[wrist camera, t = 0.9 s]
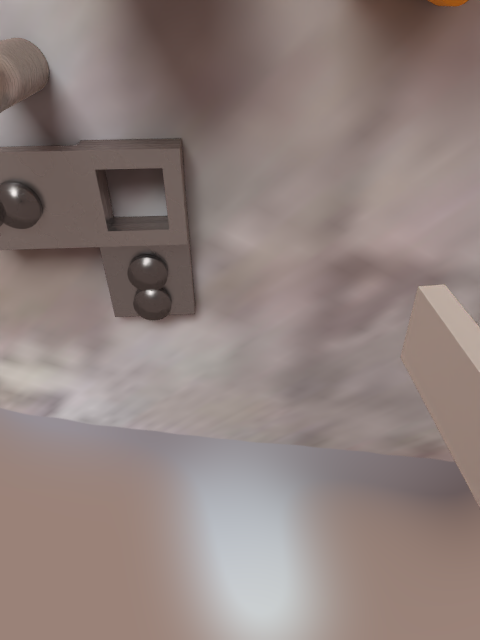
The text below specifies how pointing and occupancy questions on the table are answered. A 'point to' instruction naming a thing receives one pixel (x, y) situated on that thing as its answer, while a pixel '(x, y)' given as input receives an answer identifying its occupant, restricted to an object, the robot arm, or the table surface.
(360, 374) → the table surface
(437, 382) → the robot arm
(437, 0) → the bracket
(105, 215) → the chain end
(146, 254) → the grey latch plate
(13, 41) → the pin
